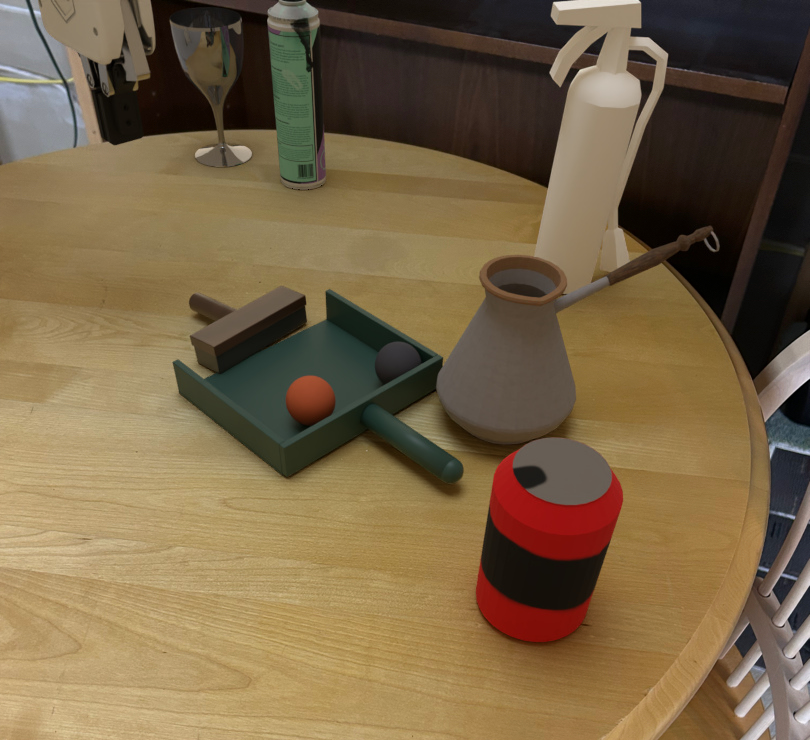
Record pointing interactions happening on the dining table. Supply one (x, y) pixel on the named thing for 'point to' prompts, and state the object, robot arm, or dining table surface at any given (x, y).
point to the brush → (244, 326)
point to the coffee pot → (525, 346)
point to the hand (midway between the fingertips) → (123, 138)
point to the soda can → (546, 538)
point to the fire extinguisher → (595, 139)
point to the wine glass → (212, 69)
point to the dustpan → (348, 377)
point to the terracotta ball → (310, 400)
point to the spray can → (297, 93)
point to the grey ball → (395, 361)
